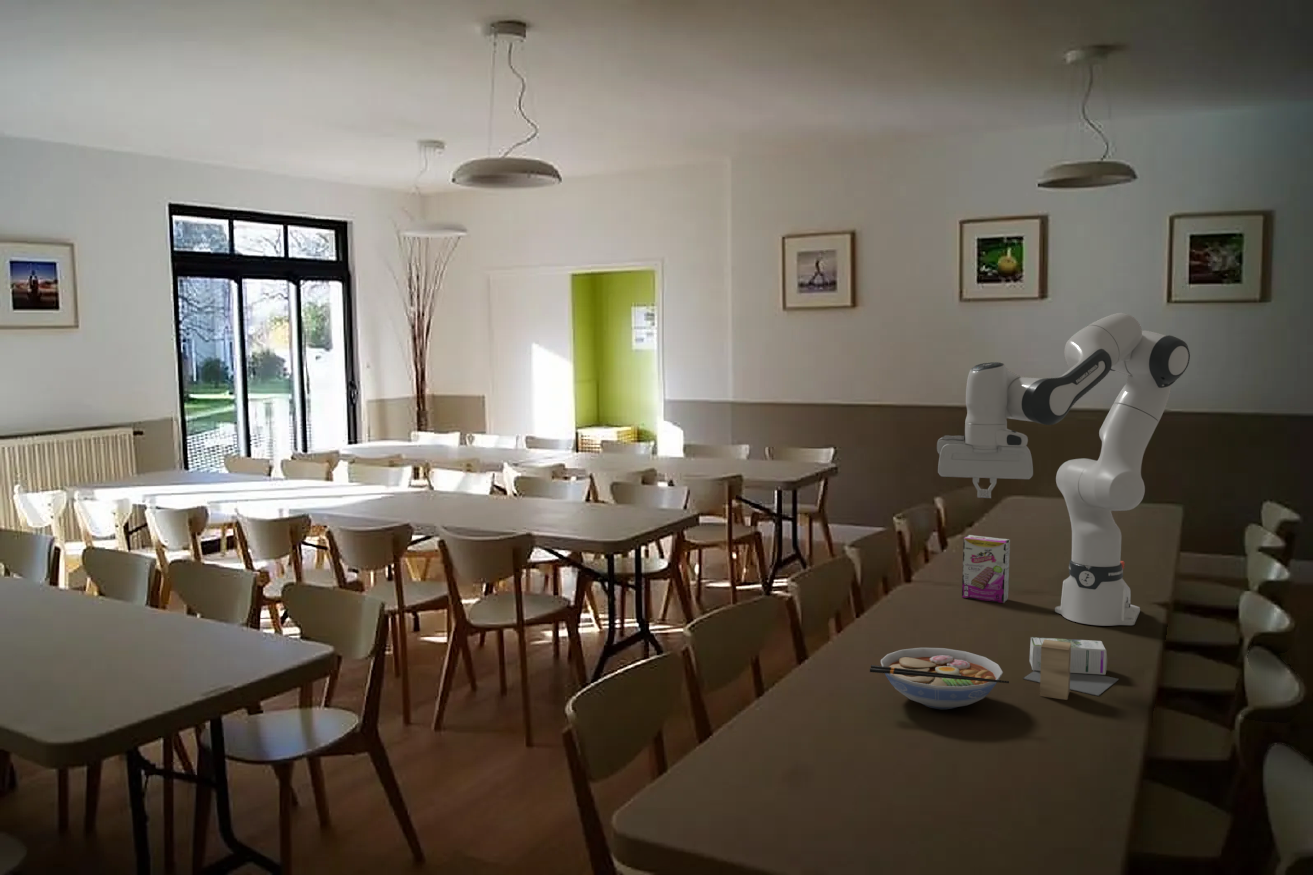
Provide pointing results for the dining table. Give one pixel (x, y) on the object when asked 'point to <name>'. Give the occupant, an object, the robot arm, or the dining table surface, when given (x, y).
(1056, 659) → the oak block
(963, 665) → the ramen bowl
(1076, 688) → the rubber mat
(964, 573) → the candy bar box
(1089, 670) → the syrup box
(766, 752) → the dining table surface
